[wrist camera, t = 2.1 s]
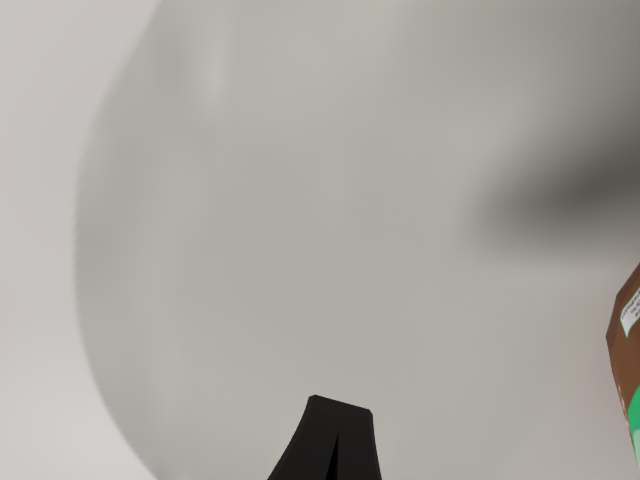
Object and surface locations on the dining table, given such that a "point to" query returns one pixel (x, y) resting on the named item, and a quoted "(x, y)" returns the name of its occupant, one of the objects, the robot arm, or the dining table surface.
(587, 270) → the dining table surface
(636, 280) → the food container
